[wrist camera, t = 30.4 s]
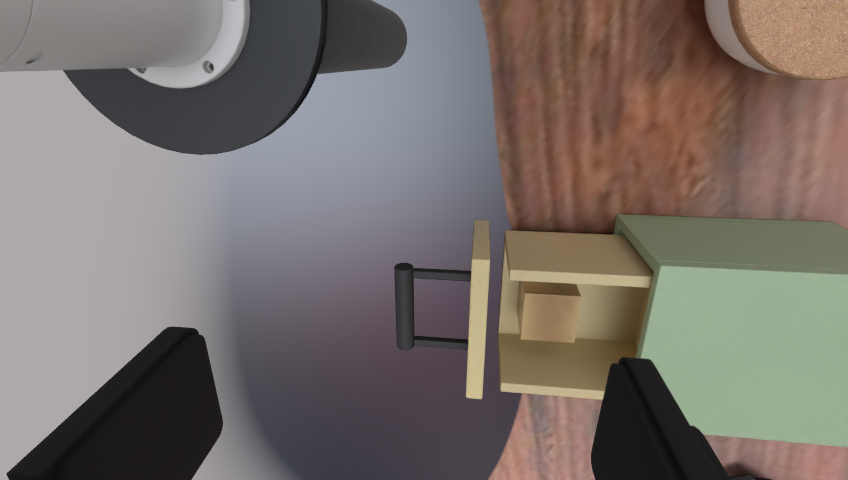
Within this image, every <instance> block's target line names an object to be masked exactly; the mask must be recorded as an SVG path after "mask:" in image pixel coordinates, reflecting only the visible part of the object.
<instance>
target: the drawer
mask: <svg viewBox="0 0 848 480" xmlns="http://www.w3.org/2000/svg"><path fill="white" fill-rule="evenodd" d="M394 269H395V301H396V332H397V347H398V348H399V349H401V350H410V349H412V348H413V347H414V346H424V347H438V348H451V349H465V350H468V361H467V384H466V398H474V399H482V392H483V375H484V358H485V341H486V323H487V306H488V290H489V272H490V236H489V221H488V220H474V230H473V246H472V264H471V271H459V270H440V269H422V268H414V269H413V265H411V264H408V263H400V264H397V265H395V267H394ZM653 274H654V271H653V270H652V269H651V267H650V266H649V265H648V264H647V262H646V261H645V260H644V259H643V257H642V256H641V255H640V254H639V252H638V251H637V250H636V249H635V247H634V246H633V245H632V244H631V242H630V241H629V240H628V239H627V237H626V236H625V235H605V234H581V233H557V232H533V231H508V230H507V231H505V239H504V253H503V267H502V282H501V295H500V309H499V323H498V351H499V370H500V390H501V391H504V392H517V393H528V394H540V395H552V396H564V397H576V398H588V399H600V400H603V397H604V392H605V387H606V383H607V378H608V374H609V369H610V366H611V364H612V363H619V360H620V359H621V358H622V357H630V358H636V353H637V349H638V344H639V339H640V335H641V330H642V325H643V321H644V316H645V312H646V307H647V302H648V298H649V293H650V288H651V284H652V279H653ZM413 278H419V279H437V280H455V281H471V288H470V312H469V337H468V340H466V339H452V338H438V337H423V336H415V337H414V285H413V284H414V283H413ZM519 281H533V282H551V283H569V284H576V285H577V287H578V290H579V292H580V295H581V302H580V309H579V316H578V322H577V329H576V336H575V342H574V343H566V342H551V341H537V340H522V339H520V333H519V325H518V317H517V304H518V293H519Z"/></svg>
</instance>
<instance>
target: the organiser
mask: <svg viewBox="0 0 848 480" xmlns="http://www.w3.org/2000/svg"><path fill="white" fill-rule="evenodd" d="M613 235H625V236H626V237H627V239H628V240H629V241H630V242H631V244H632V245H633V246H634V247H635V249H636V250H637V251H638V252H639V254H640V255H641V256H642V257H643V259H644V260H645V261H646V262H647V264H648V265H649V266H650V267H651V269H652V270H653V271H654V274H653V279H652V284H651V288H650V293H649V298H648V302H647V307H646V312H645V316H644V321H643V325H642V330H641V335H640V339H639V344H638V349H637V353H636V358H645V359H650V360H651V361H652V362H653V363H654V365H655V366H656V368H657V370H658V372H659V373H660V375H661V377H662V378H663V380H664V382H665V383H666V385H667V387H668V389H669V390H670V392H671V394H672V395H673V397H674V399H675V401H676V402H677V404H678V406H679V407H680V409H681V411H682V412H683V414H684V416H685V418H686V419H687V421H688V423H689V424H690V426H695V427H696V428H698V429H699V430H700V431H701V432H702V434H707V435H718V436H729V437H740V438H751V439H763V440H774V441H785V442H796V443H807V444H818V445H830V446H841V447H848V229H846V228H844V227H841V226H839V225H838V224H835V223H833V222H819V221H791V220H763V219H736V218H708V217H680V216H652V215H625V214H617V216H616V221H615V227H614V233H613Z"/></svg>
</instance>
